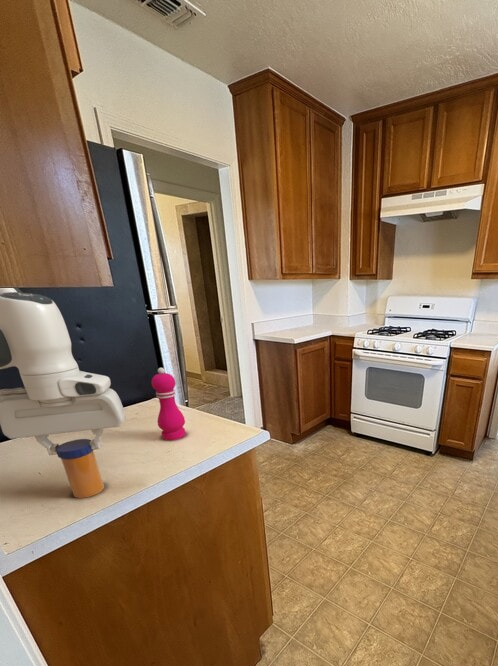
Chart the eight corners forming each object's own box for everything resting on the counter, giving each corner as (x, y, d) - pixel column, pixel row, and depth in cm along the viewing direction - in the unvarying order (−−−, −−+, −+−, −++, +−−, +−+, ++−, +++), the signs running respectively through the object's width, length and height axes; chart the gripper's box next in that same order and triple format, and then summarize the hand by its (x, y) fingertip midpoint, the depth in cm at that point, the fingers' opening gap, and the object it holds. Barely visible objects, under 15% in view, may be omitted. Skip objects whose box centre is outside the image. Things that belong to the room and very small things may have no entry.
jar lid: (53, 461, 68) (50, 453, 68) (64, 448, 74) (62, 441, 73) (89, 456, 70) (87, 449, 69) (97, 444, 75) (95, 437, 75)
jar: (69, 500, 72) (53, 454, 68) (78, 486, 77) (64, 443, 73) (100, 495, 74) (86, 450, 70) (107, 482, 79) (94, 439, 75)
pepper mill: (187, 429, 107) (175, 363, 99) (187, 438, 100) (174, 369, 93) (161, 433, 104) (146, 366, 96) (160, 442, 98) (144, 371, 90)
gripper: (-22, 395, 61) (8, 465, 66) (110, 384, 66) (127, 450, 72) (-3, 386, 66) (23, 451, 72) (118, 376, 72) (133, 438, 77)
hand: (76, 451), depth 72 cm, fingers closed on jar lid, 6 cm apart
